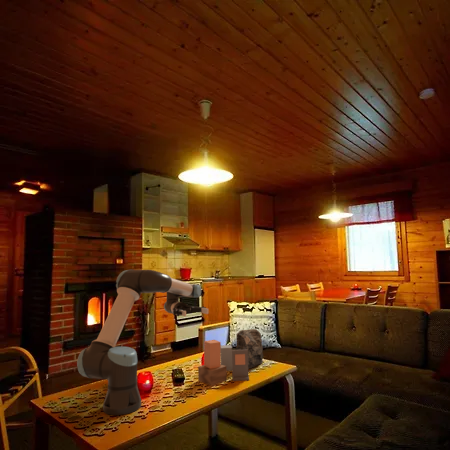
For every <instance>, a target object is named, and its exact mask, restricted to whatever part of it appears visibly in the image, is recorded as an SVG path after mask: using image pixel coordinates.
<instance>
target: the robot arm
mask: <svg viewBox="0 0 450 450" xmlns="http://www.w3.org/2000/svg"><path fill="white" fill-rule="evenodd" d="M115 283H116V284H115V287H116V292H117V297H115V298H116V299H115V300H114V302H113V305H112V306H111V309H110V311H109V312H108V315H107V317H106V319H105V321H104V324H103V326H102V328H101V330H100V332H99V334H98V336H97V338H96V339H94V340H92V341H91V342H90V345H89V346H88V347H85V348H84V349H82V350H81V351H80V352H79V354H78V357H77V361H76V366H77V371H78V373H79V374H80V375H81V376H82V377H85V378H88V379H98V380H104V381H105V380H106V381H107V391H106V395H105V398H104V401H103V406H102V411H103V413H104V414H107V415H111V416H119V415H121V416H122V415H127V414H131V413H133V412H135V411H137V410H139V409H141V407H142V398H141V395H140V391H139V388H138V360H139V359H138V355H137V354H138V353H137V351H136V349H134V348H133V347H129V346H121V345H120V346H119V345H118V346H116V345H117V342H118V341H119V338H120V335H121V333H122V331H123V329H124V326H125V324H126V321H127V320H128V317H129V315H130V312H131V310H132V308H133V306H134V303H135V302H136V301H138V300H139V299H140V297H141V295H142V294H150V293H151V294H152V293H153V294H155V293H163V294H164V293H166V301H165V302H164V304H163V309H164V311H165V312H166V313H168V314H172V315H173V316H175V315H176V317H179V316H180V317H187V314H193V313H202V314H204V315H208V314H209V312H210V311H209V308H207V307H206V306H190V305H188V304H186V303H185V302H181V301H180V298H200V296H201V294H202V287H201V285H200V284H196V283H195V284H194V283H193V284H192V283H189V282H186V281H183V280H179V279H175V278H172V277H171V276H170V275H169V274H167V273H164V272H161V271H156V270H153V269H127V270H123V271H122V272H120V273H119V274H118V276H117V277H116V281H115Z"/></svg>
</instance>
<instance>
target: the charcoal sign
mask: <svg viewBox="0 0 450 450" xmlns="http://www.w3.org/2000/svg"><path fill="white" fill-rule="evenodd" d="M231 372H232V373H231V374H232V381H233V382H238V381H250V377H249V368H248V349H246V350H236V349H232V371H231Z"/></svg>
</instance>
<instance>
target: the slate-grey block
mask: <svg viewBox="0 0 450 450" xmlns="http://www.w3.org/2000/svg"><path fill="white" fill-rule="evenodd" d="M232 350H233V346H232V344H224V345H223V344H221V365H224V366H226V367H227V372H229V371H230V372H232Z"/></svg>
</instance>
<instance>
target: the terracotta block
mask: <svg viewBox="0 0 450 450" xmlns="http://www.w3.org/2000/svg"><path fill="white" fill-rule="evenodd" d="M203 343H204V344H203V348H204V349H203V350H204V351H203V355H204V357H203V365H204V366H206V367H208V368H209V369H212V368H217V367H221V345H222V342H221V341H219V340H216V339H210V340H204V342H203Z"/></svg>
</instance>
